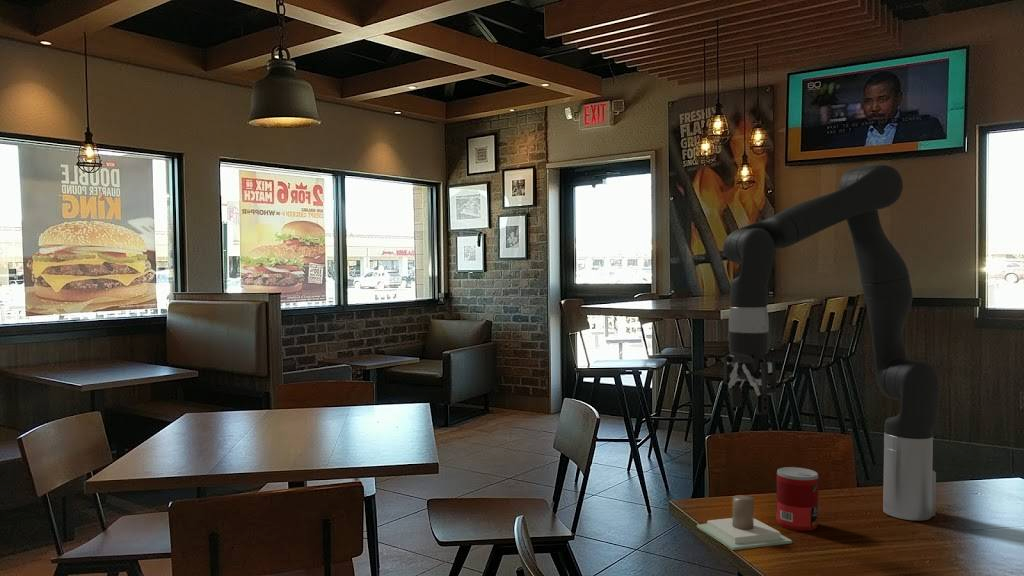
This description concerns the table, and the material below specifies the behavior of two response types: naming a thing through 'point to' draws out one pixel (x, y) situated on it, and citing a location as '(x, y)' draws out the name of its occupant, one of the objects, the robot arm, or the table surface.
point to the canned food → (797, 498)
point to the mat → (743, 545)
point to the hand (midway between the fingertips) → (748, 410)
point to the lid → (743, 524)
